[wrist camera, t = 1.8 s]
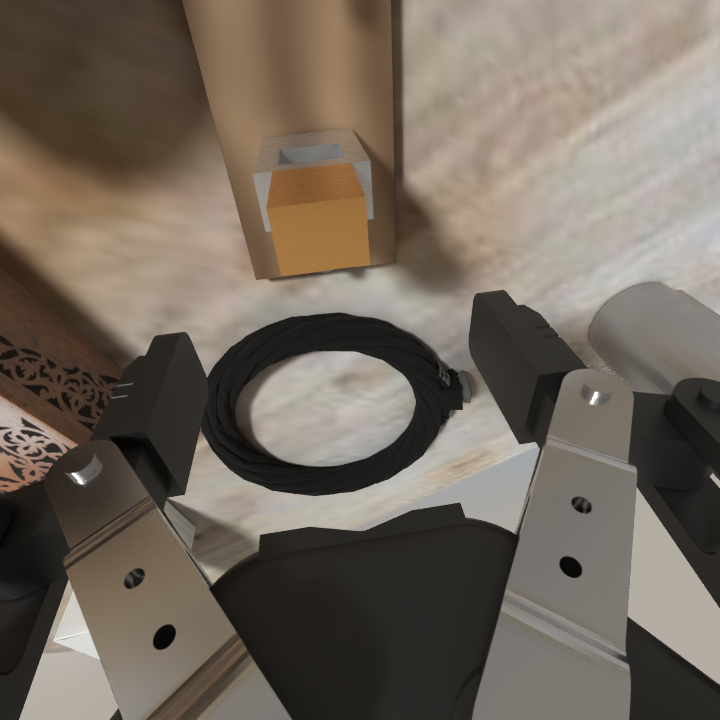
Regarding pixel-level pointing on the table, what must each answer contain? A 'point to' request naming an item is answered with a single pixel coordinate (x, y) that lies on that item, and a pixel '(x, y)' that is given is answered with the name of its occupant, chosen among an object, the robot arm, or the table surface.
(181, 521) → the supplement box
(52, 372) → the tissue box cover
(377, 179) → the board
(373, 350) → the cable lock
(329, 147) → the end link
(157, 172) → the table surface
